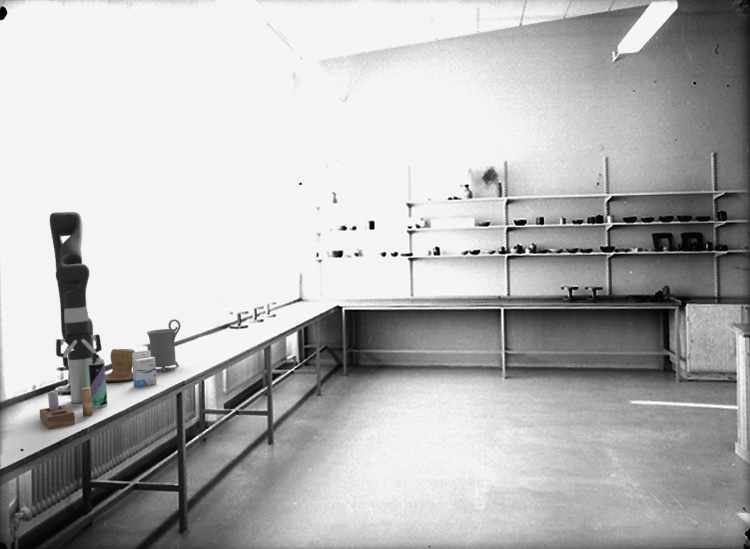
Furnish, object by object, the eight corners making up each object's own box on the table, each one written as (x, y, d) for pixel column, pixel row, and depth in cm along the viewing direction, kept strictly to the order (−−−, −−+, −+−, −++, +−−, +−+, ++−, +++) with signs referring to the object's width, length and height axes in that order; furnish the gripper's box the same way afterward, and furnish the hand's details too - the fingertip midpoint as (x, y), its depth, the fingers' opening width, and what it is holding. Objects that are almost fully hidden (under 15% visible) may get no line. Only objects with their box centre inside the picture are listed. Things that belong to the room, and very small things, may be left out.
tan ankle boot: (141, 376, 280) (139, 345, 279) (132, 382, 268) (129, 349, 267) (108, 378, 279) (106, 347, 278) (98, 384, 267) (95, 351, 267)
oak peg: (82, 415, 213) (80, 388, 213) (91, 414, 215) (89, 387, 215) (84, 417, 211) (82, 389, 211) (93, 415, 213) (91, 388, 212)
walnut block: (40, 420, 210) (39, 409, 210) (65, 415, 215) (64, 404, 215) (48, 429, 198) (48, 417, 198) (75, 423, 203) (74, 412, 203)
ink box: (137, 387, 256) (135, 353, 256) (133, 385, 260) (131, 352, 259) (157, 383, 262) (154, 350, 262) (152, 382, 266) (150, 349, 265)
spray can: (88, 407, 225) (84, 355, 224) (99, 403, 230) (96, 352, 229) (99, 408, 223) (95, 355, 222) (110, 404, 228) (107, 353, 227)
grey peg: (49, 420, 210) (47, 392, 209) (58, 418, 212) (56, 390, 211) (51, 421, 207) (48, 393, 207) (60, 420, 209) (58, 392, 209)
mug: (140, 372, 289) (136, 322, 288) (156, 366, 304) (153, 318, 303) (175, 372, 286) (172, 321, 285) (190, 366, 300) (187, 317, 299)
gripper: (96, 317, 216) (99, 361, 217) (52, 322, 208) (56, 368, 209) (100, 318, 210) (104, 363, 211) (55, 323, 202) (59, 370, 202)
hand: (80, 365), depth 210 cm, fingers open, 8 cm apart
